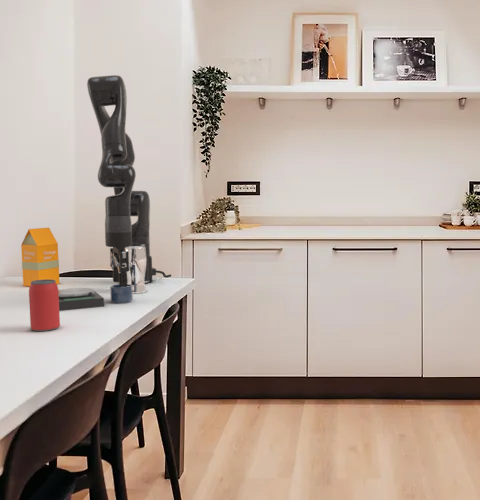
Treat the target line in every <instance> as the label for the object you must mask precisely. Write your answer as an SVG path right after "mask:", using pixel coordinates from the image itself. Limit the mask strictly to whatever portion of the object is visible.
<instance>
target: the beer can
mask: <svg viewBox="0 0 480 500" xmlns="http://www.w3.org/2000/svg"><path fill="white" fill-rule="evenodd" d="M58 290H59V286H58V284H56V281H55V280H50V279H46V280H35V281H32V282H31V285H30V286H29V288H28V300H29V301H28V302H29V320H30V329H31V330H32V331H34V332H50V331H53V330H56V329H59V327H61V319H60V318H61V317H60V311H59V293H58Z"/></svg>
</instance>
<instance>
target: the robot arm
mask: <svg viewBox="0 0 480 500" xmlns="http://www.w3.org/2000/svg"><path fill="white" fill-rule="evenodd" d="M86 85H87V93H88V96H89V100H90V103H91V105H92V109H93V112H94V115H95V118H96V121H97V124H98V128H99V133H100V139H101V140H100V142H101V161H100V164H99V168H98V172H97V181H98V183H99V185H101V186H102V187H103V188H113V193H114V194H111V195H108V196H106V197H105V200H104V206H105V210H104V212H105V219H104V234H105V235H104V239H105V241H104V242H105V246H106V247H107V248H110V249H109V254H110V256H109V257H110V258H109V259H110V262H109V263H110V265H109V266H110V268H111V270H112V281H113V282H114V283H118V284H119V285H120V286H126V285H127V284H128V280H127V273H128V271H129V255H128V254H129V252H128V251H125V247H129V246H144V247H145V249H146V271H145V278H144V282H145V284H149V283H153V276H157V274H161V275H162V276H163V278H171V277H172V274H166V273H165V272H164V271H163V270H157V268H155V267H153V257H152V256H151V244H150V241H151V240H150V239H151V238H150V229H151V228H150V227H151V226H150V225H151V220H150V219H151V218H150V217H151V198H150V195H149V192H147V191H146V190H133V188H134V185H135V181H136V176H137V173H136V169H135V168H134V164H135V161H136V154H135V150H134V146H133V141H132V139H131V137H130V136H129V135H128V133H126V124H127V123H126V121H127V103H128V100H127V99H128V97H127V89H126V88H127V87H126V84H125V81H124V79H123V77H122V76H121V75H119V74H118V75H117V74H116V75H115V74H114V75H113V74H112V75H111V74H110V75H101V76H92V77H89V78H87V82H86ZM110 106H114V110H113V112H112V114H111V116H110V115H109V113H108V111H107V109H106V107H110ZM131 217H137V220H136V221H135V222H133V223H132V218H131Z"/></svg>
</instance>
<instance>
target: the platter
mask: <svg viewBox="0 0 480 500" xmlns="http://www.w3.org/2000/svg"><path fill="white" fill-rule="evenodd" d="M95 292H96V290H95V289H94V288H90V287H73V288H64V289H58V293H59V297H80V296H87V295H91V294H94V293H95Z"/></svg>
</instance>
